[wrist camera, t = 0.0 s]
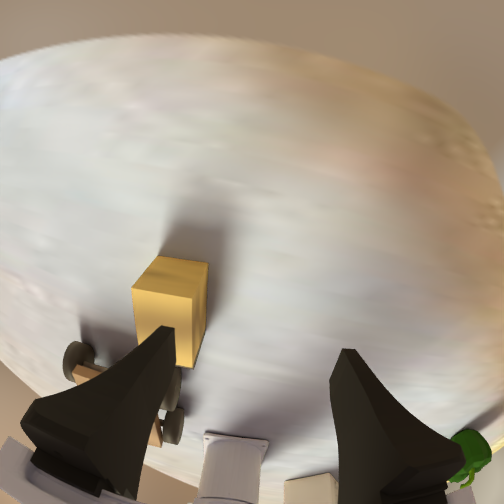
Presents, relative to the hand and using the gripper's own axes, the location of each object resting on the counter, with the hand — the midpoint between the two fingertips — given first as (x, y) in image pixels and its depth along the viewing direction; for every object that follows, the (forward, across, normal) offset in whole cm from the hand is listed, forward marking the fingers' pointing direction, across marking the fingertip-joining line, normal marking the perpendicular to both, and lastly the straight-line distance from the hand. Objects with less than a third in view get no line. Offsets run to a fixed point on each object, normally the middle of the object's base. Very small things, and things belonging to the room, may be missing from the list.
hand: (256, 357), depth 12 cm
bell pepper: (+10, -37, +28) cm, 48 cm away
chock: (+10, +6, +4) cm, 12 cm away
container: (+10, -14, +40) cm, 44 cm away
